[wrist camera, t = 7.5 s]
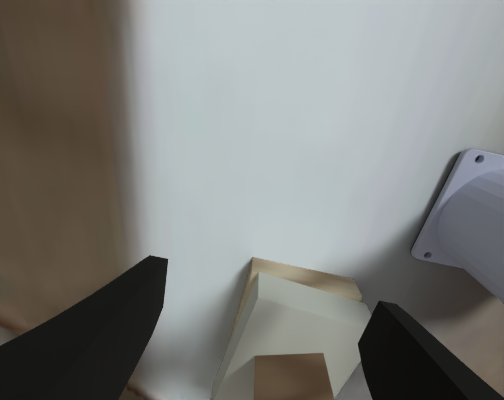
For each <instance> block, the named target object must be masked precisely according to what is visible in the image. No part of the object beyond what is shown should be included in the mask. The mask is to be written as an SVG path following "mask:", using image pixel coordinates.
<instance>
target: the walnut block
mask: <svg viewBox="0 0 504 400" xmlns="http://www.w3.org/2000/svg"><path fill="white" fill-rule="evenodd" d="M254 400H334V396H333V391H332V387H331V383H330V379H329V375H328V370H327V366H326V362H325V358H324V353H309V354H285V355H261V356H255V368H254Z"/></svg>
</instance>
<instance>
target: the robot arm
mask: <svg viewBox="0 0 504 400" xmlns="http://www.w3.org/2000/svg"><path fill="white" fill-rule="evenodd" d="M477 156H479V159H478V160H477V161H476V162H475V158H476V157H477ZM426 252H428V254H426V255H424V254H425V253H426ZM411 254H412V255H413V257H414V258H416V259H419V260H423V261H428V262H433V263H438V264H443V265H448V266H453V267H458V268H462V269H464V270H466V271H467V272H468V273H469V274H470V275H471V276H472V277H474V278H475V279H476V280H477V281H478V282H479V283H481V284H482V285H483V286H484V287H485V288H486V289H487V290H489V291H490V292H491V293H492V294H493V295H494V296H496V297H497V298H498V299H499V300H500V301H501V302H502V303H504V156H503V155H499V154H494V153H490V152H486V151H481V150H477V149H472V148H468V149H465V150H464V151H462V152H461V154H460V155H459V157H458V159H457V161H456V163H455V165H454V167H453V169H452V171H451V173H450V175H449V177H448V179H447V181H446V183H445V185H444V187H443V189H442V191H441V193H440V195H439V197H438V199H437V201H436V203H435V205H434V207H433V209H432V211H431V212H430V214H429V216H428V218H427V220H426V222H425V224H424V226H423V228H422V230H421V232H420V234H419V236H418V238H417V240H416V242H415V244H414V246H413V248H412V250H411ZM167 265H168V259H165V258H160V257H155V256H148V257H146V258H145V259H143V260H142V261H140V262H139V263H138V264H136V265H135V266H133V267H132V268H130V269H129V270H128V271H126V272H125V273H123V274H122V275H120V276H119V277H117V278H116V279H114V280H113V281H111V282H110V283H108V284H107V285H105V286H104V287H102V288H101V289H99V290H98V291H96V292H95V293H93V294H92V295H90V296H88V297H87V298H85V299H84V300H82V301H80V302H79V303H77V304H75V305H74V306H72V307H70V308H69V309H67V310H65V311H64V312H62V313H60V314H59V315H57V316H55V317H54V318H52V319H50V320H48V321H46V322H45V323H43V324H41V325H39V326H37V327H36V328H34V329H32V330H30V331H28V332H26V333H24V334H22V335H20V336H18V337H17V338H15V339H13V340H11V341H9V342H7V343H5V344H3V345H1V346H0V400H118V399H119V397H120V395H121V393H122V391H123V390H124V388H125V386H126V384H127V382H128V380H129V378H130V376H131V375H132V373H133V371H134V369H135V367H136V365H137V363H138V361H139V359H140V357H141V356H142V354H143V352H144V350H145V348H146V346H147V344H148V342H149V340H150V338H151V336H152V334H153V331H154V329H155V326H156V324H157V321H158V319H159V316H160V313H161V311H162V308H163V303H164V294H165V284H166V275H167ZM358 348H359V353H360V358H361V363H362V367H363V371H364V375H365V379H366V382H367V385H368V388H369V391H370V393H371V396H372V399H373V400H504V398H503V397H502V396H501V395H500V394H499V393H497V392H496V391H495V390H494V389H493V388H492V387H490V386H489V385H488V384H487V383H486V382H484V381H483V380H482V379H481V378H480V377H479V376H477V375H476V374H475V373H474V372H473V371H472V370H471V369H469V368H468V367H467V366H466V365H465V364H464V363H463V362H462V361H460V360H459V359H458V358H457V357H456V356H455V355H454V354H453V353H451V352H450V351H449V350H448V349H447V348H446V347H445V346H444V345H443V344H441V343H440V342H439V341H438V340H437V339H436V338H435V337H434V336H433V335H431V334H430V333H429V332H428V331H427V330H426V329H425V328H424V327H423V326H422V325H420V324H419V323H418V322H417V321H416V320H415V319H414V318H412V317H411V316H410V315H409V314H408V313H407V312H405V311H404V310H403V309H402V308H400V307H399V306H398V305H397V304H393V303H388V302H383V301H379V302H378V304H377V306H376V308H375V310H374V312H373V314H372V316H371V318H370V320H369V322H368V324H367V326H366V328H365V330H364V332H363V334H362V336H361V338H360V340H359V342H358Z"/></svg>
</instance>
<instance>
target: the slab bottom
mask: <svg viewBox="0 0 504 400" xmlns="http://www.w3.org/2000/svg"><path fill="white" fill-rule="evenodd" d="M259 272H262V273H265V274H269V275H272V276H275V277H279V278H282V279H285V280H289V281H292V282H296V283H299V284H302V285H306V286H309V287H312V288H316V289H319V290H322V291H326V292H329V293H332V294H336V295H339V296H343V297H346V298H349V299H353V300H356V301H359V302H360V301H361V299H362V295H361V293H360V291H359V289H358V287H357V285H356V283H355V281H354V279H351V278H346V277H342V276H337V275H333V274H328V273H323V272H319V271H314V270H310V269H305V268H301V267H296V266H291V265H287V264H282V263H278V262H273V261H269V260H264V259H260V258H255V257H253V258H252V261H251V265H250V269H249V272H248V276H247V280H246V283H245V287H244V291H243V294H242V298H241V302H240V305H239V309H238V313H237V316H236V320H235V324H234V327H233V331H232V335H231V338H232V336H233V334H234V331H235V329H236V326H237V324H238V321H239V319H240V316H241V314H242V312H243V309H244V307H245V304H246V302H247V299H248V297H249V295H250V292H251V290H252V287H253V285H254V282H255V280H256V277H257V275H258V273H259ZM231 338H230V341H231ZM229 343H230V342H229Z"/></svg>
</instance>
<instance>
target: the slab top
mask: <svg viewBox="0 0 504 400" xmlns="http://www.w3.org/2000/svg"><path fill="white" fill-rule="evenodd" d="M371 316H372V315H371V313H370V311H369V309H368V307H367V305H366V303H363V302H359V301H356V300H353V299H349V298H346V297H343V296H339V295H336V294H332V293H329V292H326V291H322V290H319V289H316V288H312V287H309V286H306V285H302V284H299V283H296V282H292V281H289V280H285V279H282V278H279V277H275V276H272V275H269V274H265V273H262V272H259V273H258V275H257V277H256V280H255V282H254V285H253V287H252V290H251V292H250V295H249V297H248V299H247V302H246V304H245V307H244V309H243V312H242V314H241V316H240V319H239V321H238V324H237V326H236V329H235V331H234V334H233V336H232V338H231V341H230V343H229V346H228V348H227V351H226V353H225V356H224V358H223V360H222V363H221V365H220V368H219V370H218V373H217V375H216V378H215V380H214V383H213V389H212V395H211V400H254V368H255V356H261V355H285V354H309V353H324V358H325V362H326V366H327V370H328V375H329V379H330V383H331V387H332V391H333V396H334V398H335V397H336V395H337V394H338V393H339V391H340V390H341V388H342V387H343V385H344V384H345V383H346V381H347V380H348V378H349V377H350V375H351V374H352V372H353V371H354V370H355V368H356V367H357V365H358V364H359V362H360V361H361V358H360V353H359V348H358V342H359V340H360V338H361V336H362V334H363V332H364V330H365V328H366V326H367V324H368V322H369V320H370V318H371Z"/></svg>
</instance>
